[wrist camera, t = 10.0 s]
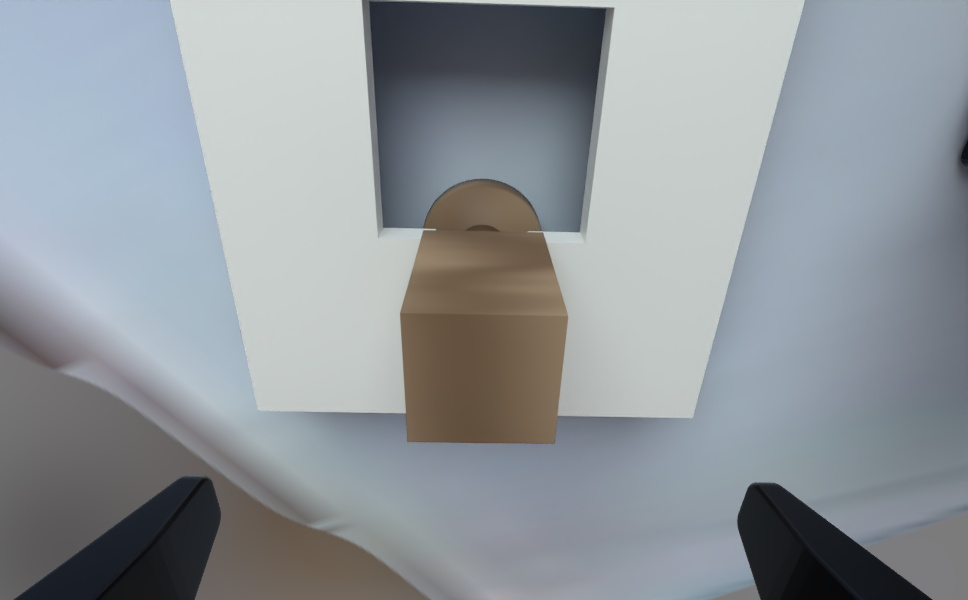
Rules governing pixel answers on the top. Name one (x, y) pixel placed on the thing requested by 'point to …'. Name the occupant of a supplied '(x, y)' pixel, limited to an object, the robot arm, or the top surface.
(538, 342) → the T-peg
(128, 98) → the top surface
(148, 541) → the robot arm
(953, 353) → the top surface
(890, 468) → the top surface
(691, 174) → the keyhole plate
